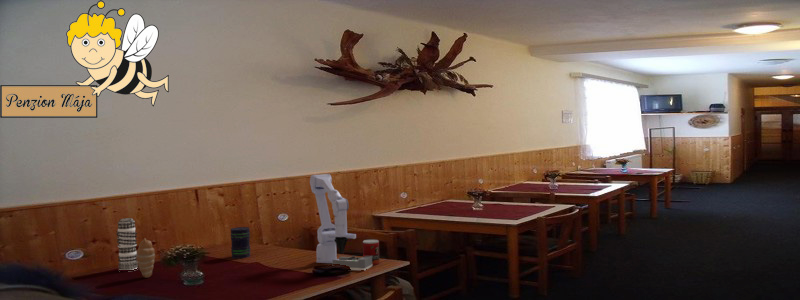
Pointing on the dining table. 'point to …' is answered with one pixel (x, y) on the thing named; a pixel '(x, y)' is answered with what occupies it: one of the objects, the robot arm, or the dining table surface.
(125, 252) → the decorative candle
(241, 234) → the storage jar
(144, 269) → the tan ridged cocoon
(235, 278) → the dining table surface
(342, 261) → the gauge housing
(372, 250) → the canned food
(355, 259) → the plunger
